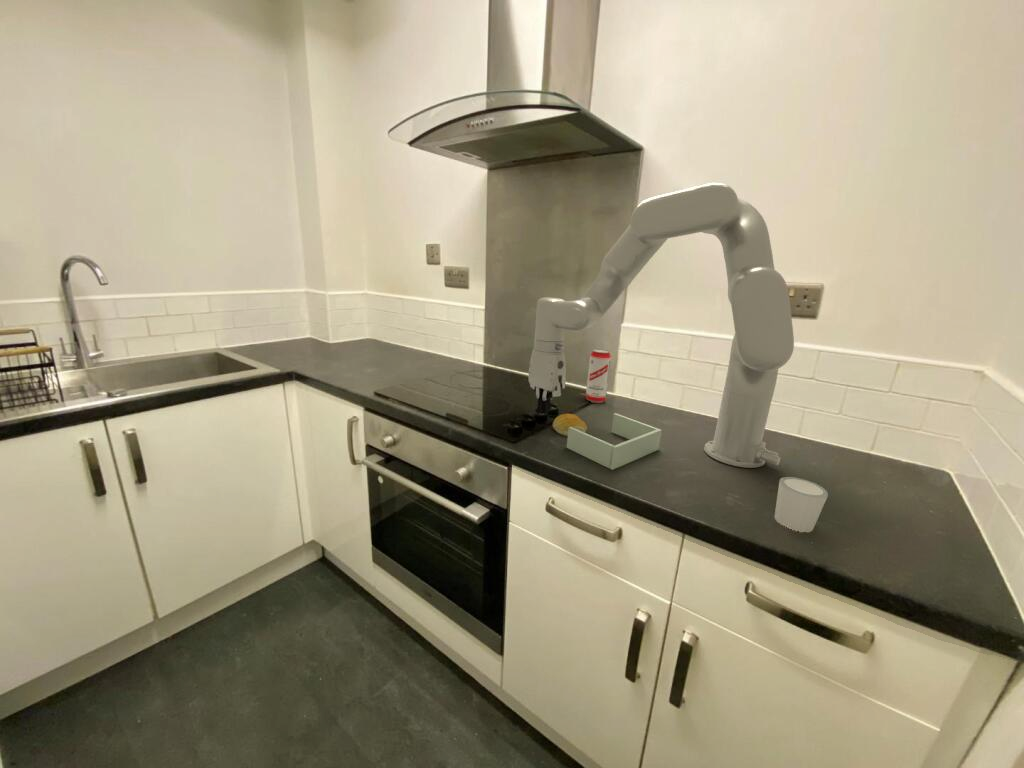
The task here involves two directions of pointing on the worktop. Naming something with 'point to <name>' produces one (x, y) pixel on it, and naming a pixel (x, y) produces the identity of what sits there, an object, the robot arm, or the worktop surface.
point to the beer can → (598, 375)
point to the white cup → (799, 503)
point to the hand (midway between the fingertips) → (543, 412)
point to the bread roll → (568, 423)
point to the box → (610, 456)
